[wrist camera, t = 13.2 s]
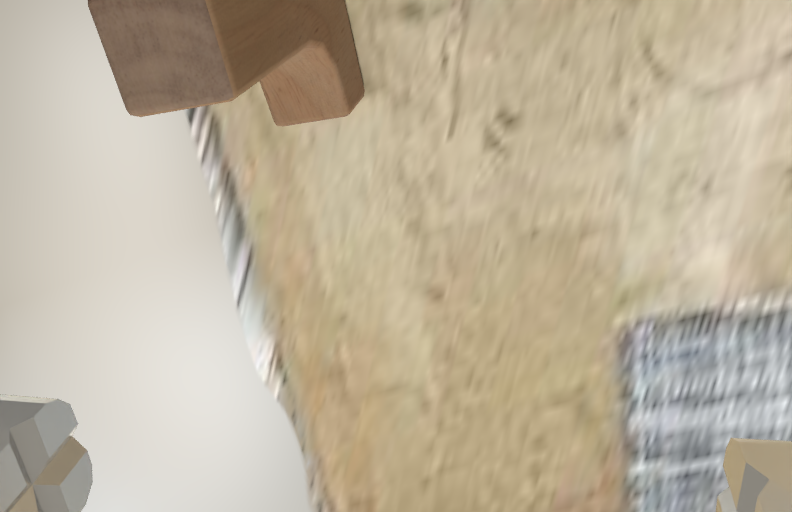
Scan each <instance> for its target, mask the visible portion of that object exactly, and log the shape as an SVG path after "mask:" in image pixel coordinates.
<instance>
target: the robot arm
mask: <svg viewBox="0 0 792 512" xmlns="http://www.w3.org/2000/svg"><path fill="white" fill-rule="evenodd" d="M77 425H78V423H77V420H76V418H75V415H74V413H73V410H72V408H71V406H70V404H68V403H66V402H64V401H61V400H59V399H50V398H38V397H26V396H13V395H1V394H0V512H81V510H82V509H83V508H84V506H85V505H86V502H87V499H88V495H89V492H90V489H91V485H92V464H91V461H90V458H89V455H88V452H87V450H86V449H85V448H84V447H83V446H82V445H81V444H80V443H79V442H78V441H77V440H75V439H74V438H73V437H72V436H73V434H74V431H75V429H76V427H77ZM723 467H724V470H725V474H726V477H727V480H728V484H729V487H728V488H727V489H725V490H724V491H723V492H722V493H721V494H719V495H718V499H717V506H716V512H792V441H780V440H761V439H742V438H731V439H730V441H729V443H728V445H727V448H726V452H725V458H724V463H723Z"/></svg>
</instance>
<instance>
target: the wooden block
mask: <svg viewBox="0 0 792 512" xmlns="http://www.w3.org/2000/svg"><path fill="white" fill-rule="evenodd" d="M88 7H89V9H90V12H91V15H92V18H93V20H94V23H95V26H96V28H97V31H98V34H99V36H100V39H101V42H102V45H103V47H104V50H105V53H106V56H107V58H108V61H109V63H110V66H111V69H112V72H113V75H114V77H115V80H116V83H117V85H118V88H119V91H120V93H121V96H122V99H123V102H124V104H125V107H126V110H127V111H128V112H129V114H130V115H133V116H139V117H143V116H148V115H154V114H160V113H166V112H171V111H177V110H183V109H189V108H195V107H200V106H206V105H212V104H218V103H223V102H229V101H232V100H234V99H235V98H236V97H238V96H239V95H241V94H242V93H243V92H245V91H246V90H248V89H249V88H250V87H252V86H253V85H254V84H256V83H257V82H259V81H260V84H261V86H262V89H263V92H264V95H265V97H266V100H267V103H268V106H269V109H270V111H271V114H272V117H273V120H274V122H275V124H276V125H277V126H288V125H295V124H301V123H307V122H313V121H320V120H326V119H332V118H338V117H345V116H347V115H348V114H350V113H351V112H352V110H353V109H354V108H355V106H356V105H357V104H358V103H359V101H360V100H361V99H362V98H363V96H364V86H363V82H362V77H361V73H360V68H359V64H358V59H357V55H356V50H355V46H354V41H353V37H352V32H351V28H350V23H349V19H348V14H347V10H346V6H345V1H344V0H88Z"/></svg>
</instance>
